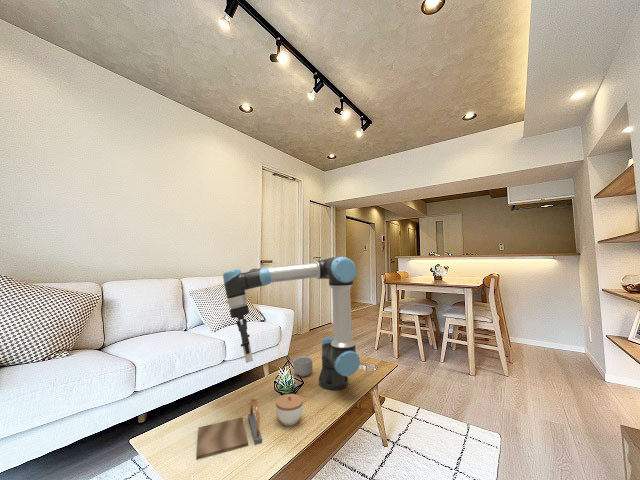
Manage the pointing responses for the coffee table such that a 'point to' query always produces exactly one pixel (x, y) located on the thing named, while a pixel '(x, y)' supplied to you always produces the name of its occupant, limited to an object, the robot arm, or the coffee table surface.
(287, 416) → the lidded jar
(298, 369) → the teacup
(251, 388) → the coffee table surface
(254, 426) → the wire stand
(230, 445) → the pad
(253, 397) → the buzz wire
